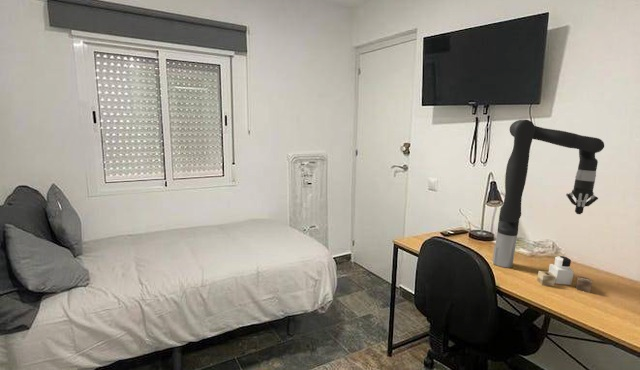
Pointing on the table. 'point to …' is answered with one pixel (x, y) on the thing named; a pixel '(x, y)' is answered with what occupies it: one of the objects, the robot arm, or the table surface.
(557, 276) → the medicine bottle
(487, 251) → the table surface
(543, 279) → the oak cube
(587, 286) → the walnut cube
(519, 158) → the robot arm
